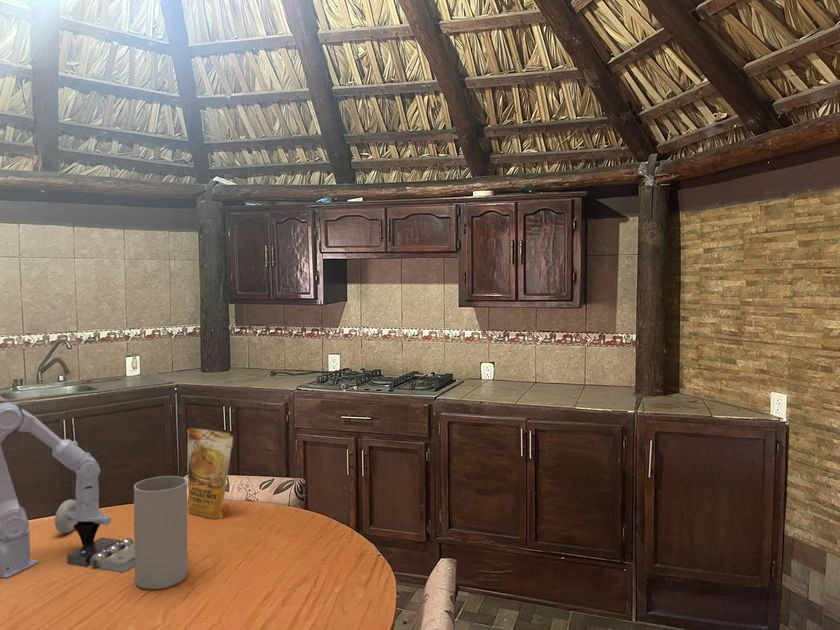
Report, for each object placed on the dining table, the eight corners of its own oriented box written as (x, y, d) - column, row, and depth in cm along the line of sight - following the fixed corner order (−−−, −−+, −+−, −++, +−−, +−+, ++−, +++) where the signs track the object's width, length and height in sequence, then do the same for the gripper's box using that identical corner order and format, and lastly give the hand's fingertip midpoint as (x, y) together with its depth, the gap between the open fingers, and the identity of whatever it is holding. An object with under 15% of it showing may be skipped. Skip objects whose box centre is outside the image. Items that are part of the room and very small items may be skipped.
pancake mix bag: (195, 505, 209) (194, 425, 208) (235, 515, 200) (235, 431, 199) (179, 511, 203) (178, 429, 202) (220, 522, 194) (219, 436, 193)
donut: (63, 539, 180) (63, 506, 180) (52, 538, 180) (51, 505, 180) (83, 526, 190) (82, 494, 189) (72, 525, 190) (71, 494, 190)
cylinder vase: (137, 572, 159) (136, 478, 158) (187, 565, 163) (187, 474, 163) (132, 594, 147) (131, 493, 146) (187, 586, 152) (186, 488, 151)
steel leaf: (122, 573, 158) (122, 559, 158) (89, 567, 161) (88, 554, 161) (156, 553, 171) (155, 540, 170) (124, 548, 174) (124, 536, 173)
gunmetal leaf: (98, 568, 161) (98, 555, 161) (67, 563, 164) (67, 550, 164) (131, 550, 172) (131, 537, 172) (101, 545, 175) (101, 533, 175)
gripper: (118, 497, 173) (119, 544, 174) (78, 492, 177) (78, 538, 178) (99, 506, 166) (100, 554, 167) (57, 500, 170) (58, 548, 171)
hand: (88, 546), depth 172 cm, fingers closed
